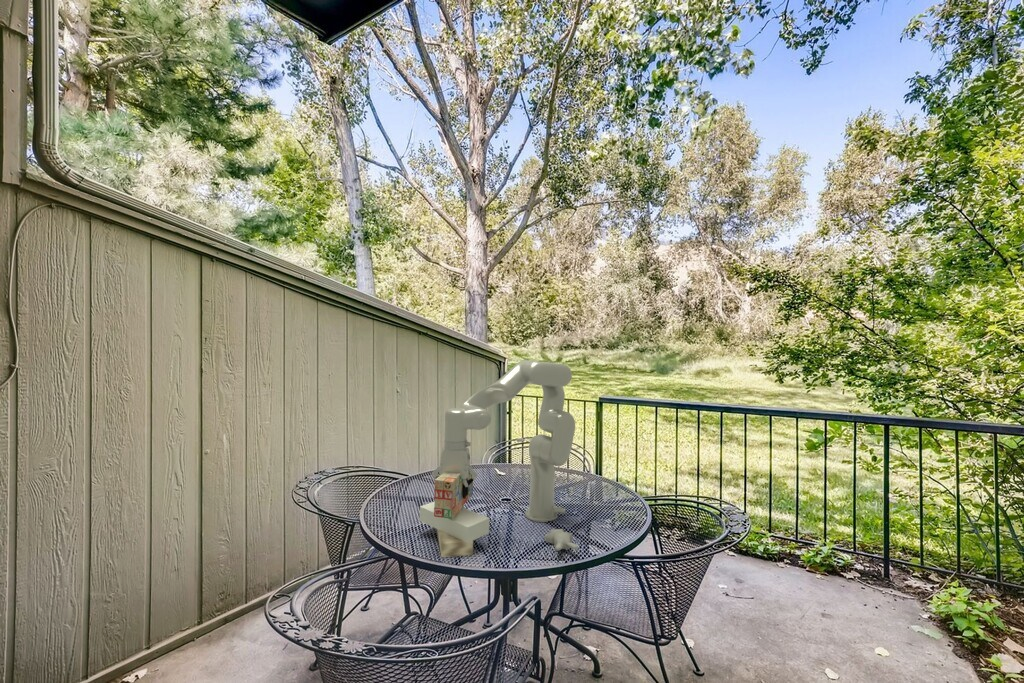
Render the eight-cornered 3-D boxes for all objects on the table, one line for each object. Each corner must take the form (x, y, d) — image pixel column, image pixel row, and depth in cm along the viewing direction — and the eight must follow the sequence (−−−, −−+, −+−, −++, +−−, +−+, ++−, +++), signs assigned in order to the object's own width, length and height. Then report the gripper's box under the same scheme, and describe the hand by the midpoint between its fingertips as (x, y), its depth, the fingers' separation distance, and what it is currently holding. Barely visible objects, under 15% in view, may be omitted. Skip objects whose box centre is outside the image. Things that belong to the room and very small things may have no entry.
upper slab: (441, 512, 165) (441, 499, 165) (489, 532, 150) (489, 518, 150) (419, 520, 157) (419, 506, 157) (467, 543, 142) (468, 527, 142)
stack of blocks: (457, 493, 166) (457, 460, 165) (473, 495, 164) (473, 461, 164) (433, 516, 145) (434, 479, 144) (452, 519, 143) (452, 481, 143)
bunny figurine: (568, 525, 159) (581, 539, 144) (568, 540, 158) (581, 556, 144) (542, 526, 157) (553, 541, 143) (542, 541, 157) (553, 557, 142)
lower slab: (463, 524, 167) (463, 511, 167) (472, 556, 144) (473, 541, 144) (435, 526, 165) (436, 512, 164) (441, 559, 141) (441, 543, 141)
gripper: (482, 443, 156) (480, 494, 157) (433, 440, 158) (432, 491, 158) (478, 449, 149) (477, 502, 149) (427, 446, 150) (426, 499, 151)
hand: (454, 496), depth 154 cm, fingers closed on stack of blocks, 6 cm apart
